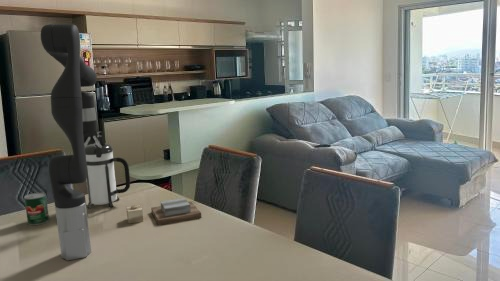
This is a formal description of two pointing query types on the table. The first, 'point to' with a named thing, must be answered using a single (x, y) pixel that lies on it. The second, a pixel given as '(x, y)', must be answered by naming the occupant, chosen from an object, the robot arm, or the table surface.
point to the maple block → (134, 214)
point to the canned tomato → (36, 208)
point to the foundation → (175, 211)
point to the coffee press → (103, 176)
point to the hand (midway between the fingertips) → (90, 159)
